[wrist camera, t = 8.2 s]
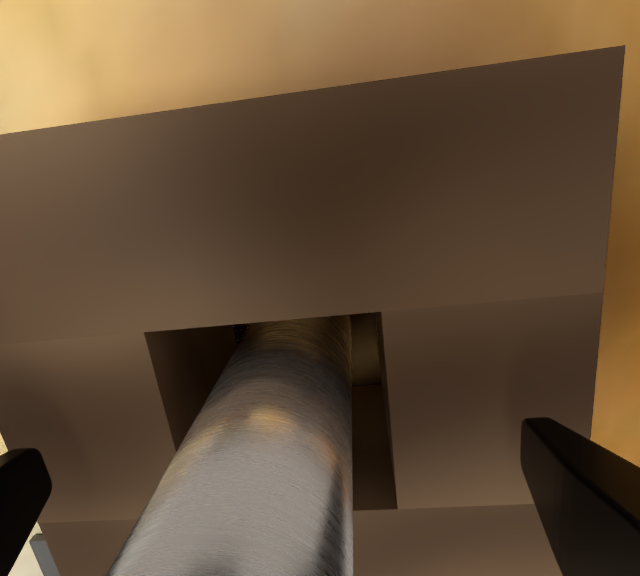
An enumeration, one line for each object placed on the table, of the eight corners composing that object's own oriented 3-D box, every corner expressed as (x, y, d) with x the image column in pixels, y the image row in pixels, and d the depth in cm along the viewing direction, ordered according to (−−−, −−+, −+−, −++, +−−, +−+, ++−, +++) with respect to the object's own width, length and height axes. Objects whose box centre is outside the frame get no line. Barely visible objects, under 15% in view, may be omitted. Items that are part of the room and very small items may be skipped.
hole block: (499, 472, 14) (573, 631, 10) (165, 488, 16) (84, 635, 11) (504, 91, 11) (625, 45, 6) (68, 150, 12) (-117, 151, 7)
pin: (355, 366, 14) (369, 874, 4) (264, 372, 14) (76, 861, 4) (346, 277, 13) (334, 663, 3) (248, 286, 13) (-31, 664, 3)
